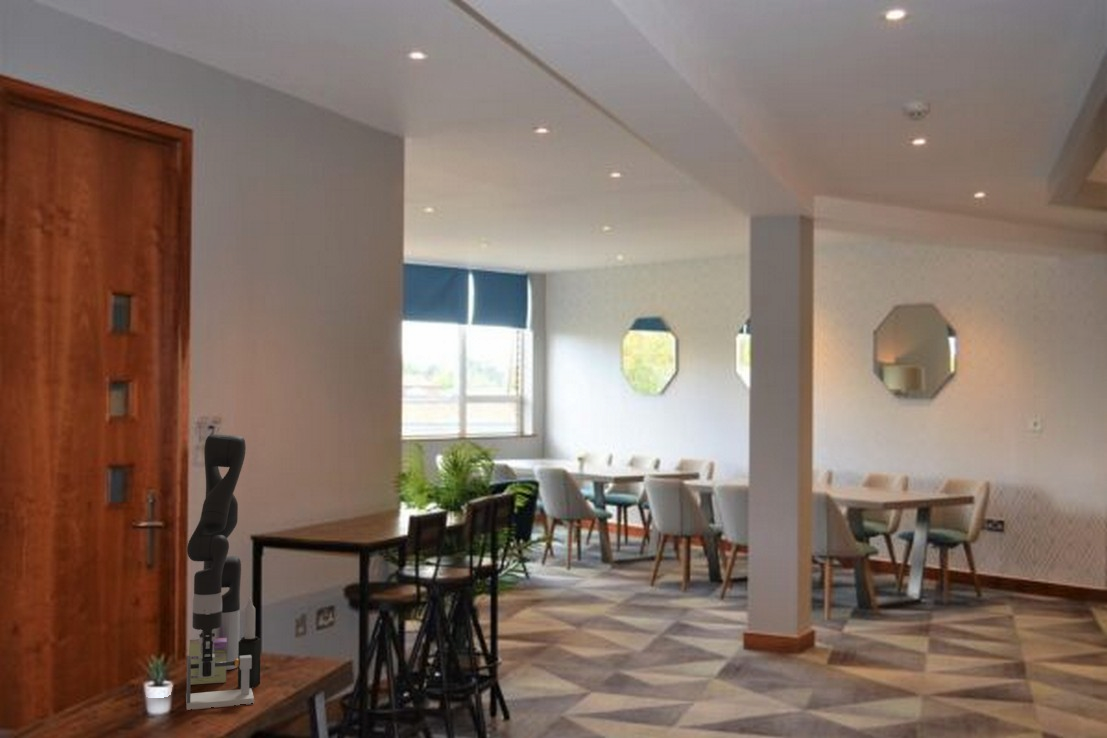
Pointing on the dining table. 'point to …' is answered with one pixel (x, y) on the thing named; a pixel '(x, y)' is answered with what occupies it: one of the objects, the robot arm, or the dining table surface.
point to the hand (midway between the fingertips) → (206, 673)
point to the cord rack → (222, 697)
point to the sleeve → (202, 665)
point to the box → (220, 656)
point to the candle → (250, 646)
